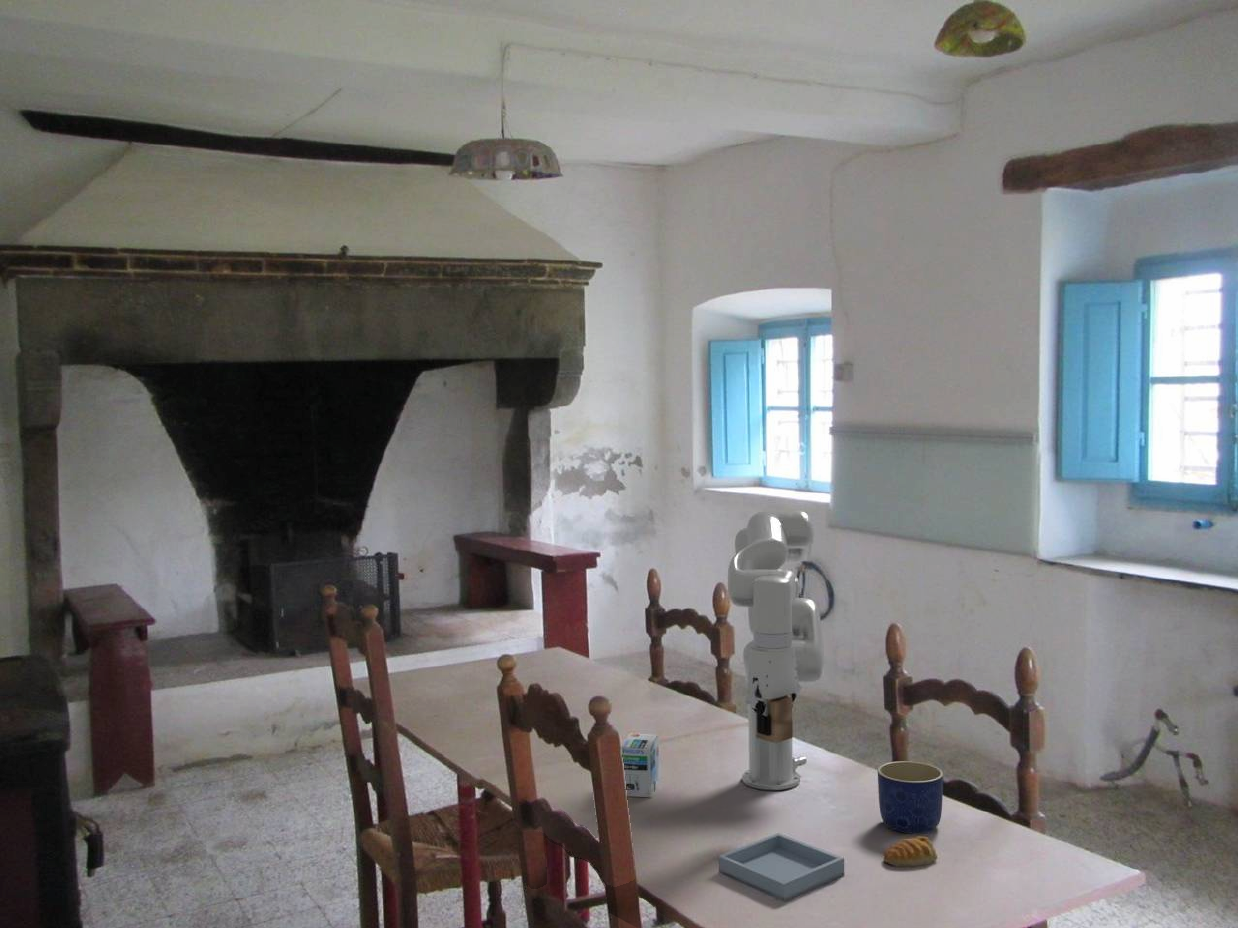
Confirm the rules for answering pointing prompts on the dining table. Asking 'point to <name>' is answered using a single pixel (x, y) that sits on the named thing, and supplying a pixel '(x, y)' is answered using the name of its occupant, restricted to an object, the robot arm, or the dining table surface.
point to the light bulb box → (641, 764)
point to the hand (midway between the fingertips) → (774, 729)
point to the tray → (781, 866)
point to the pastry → (911, 852)
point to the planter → (910, 796)
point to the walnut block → (779, 720)
